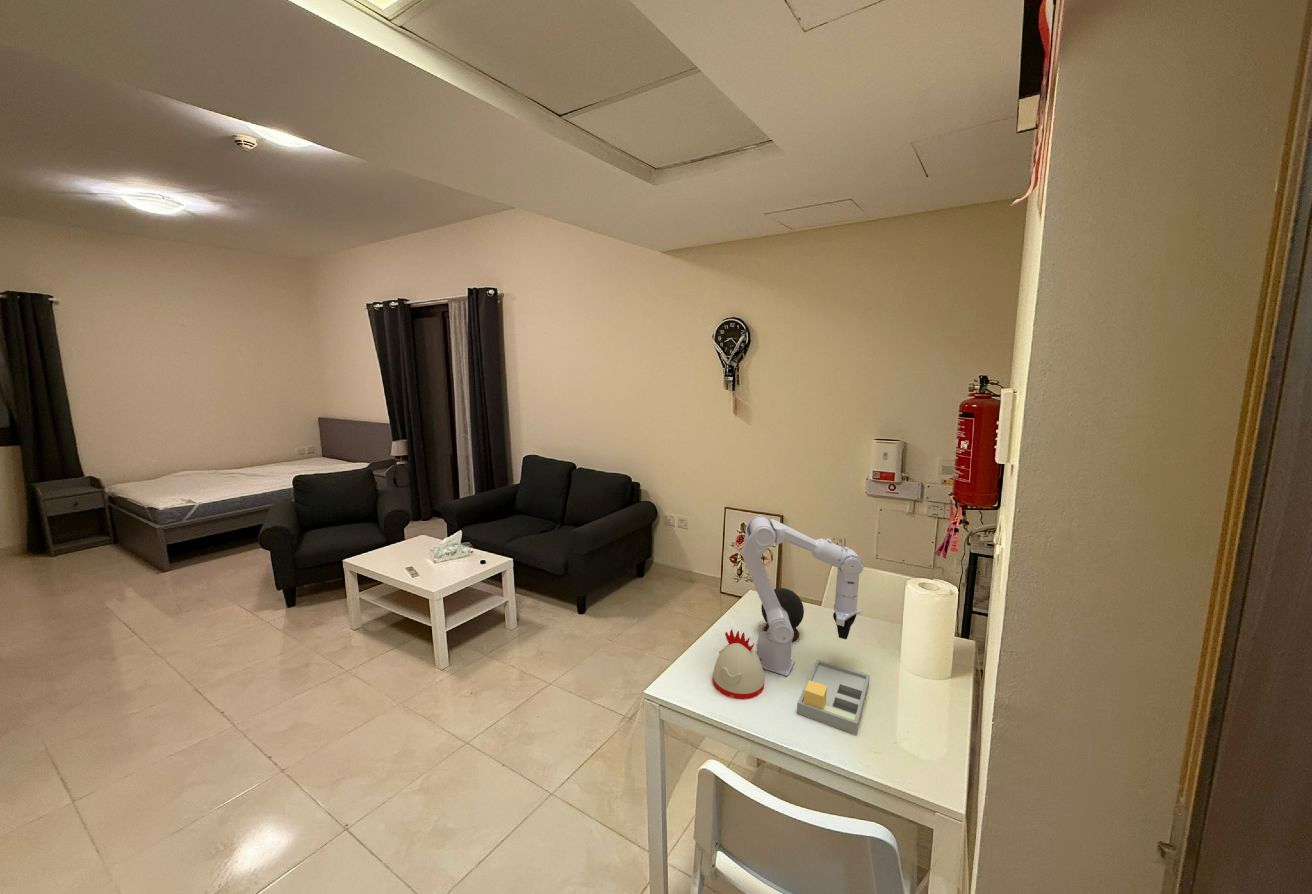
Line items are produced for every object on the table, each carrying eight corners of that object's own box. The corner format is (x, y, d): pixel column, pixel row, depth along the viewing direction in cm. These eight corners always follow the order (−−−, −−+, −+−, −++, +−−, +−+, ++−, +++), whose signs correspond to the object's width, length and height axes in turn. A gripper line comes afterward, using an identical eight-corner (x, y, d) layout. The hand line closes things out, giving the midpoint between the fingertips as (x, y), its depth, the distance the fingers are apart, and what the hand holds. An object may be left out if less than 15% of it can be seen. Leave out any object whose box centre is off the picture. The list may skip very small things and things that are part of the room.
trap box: (796, 713, 124) (797, 702, 123) (816, 668, 141) (816, 659, 141) (856, 735, 117) (857, 723, 116) (868, 685, 135) (869, 675, 134)
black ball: (752, 626, 164) (754, 583, 161) (787, 620, 168) (790, 578, 165) (773, 648, 151) (776, 602, 149) (810, 641, 155) (813, 596, 153)
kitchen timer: (724, 661, 145) (726, 613, 142) (770, 676, 138) (773, 627, 135) (704, 687, 133) (705, 636, 130) (753, 706, 126) (756, 653, 123)
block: (803, 706, 123) (804, 690, 123) (807, 695, 127) (809, 680, 126) (822, 712, 121) (823, 696, 120) (826, 702, 125) (827, 686, 124)
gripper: (857, 607, 129) (853, 654, 132) (866, 585, 142) (862, 629, 144) (829, 600, 133) (826, 646, 135) (840, 580, 145) (837, 623, 147)
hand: (843, 637), depth 140 cm, fingers closed
